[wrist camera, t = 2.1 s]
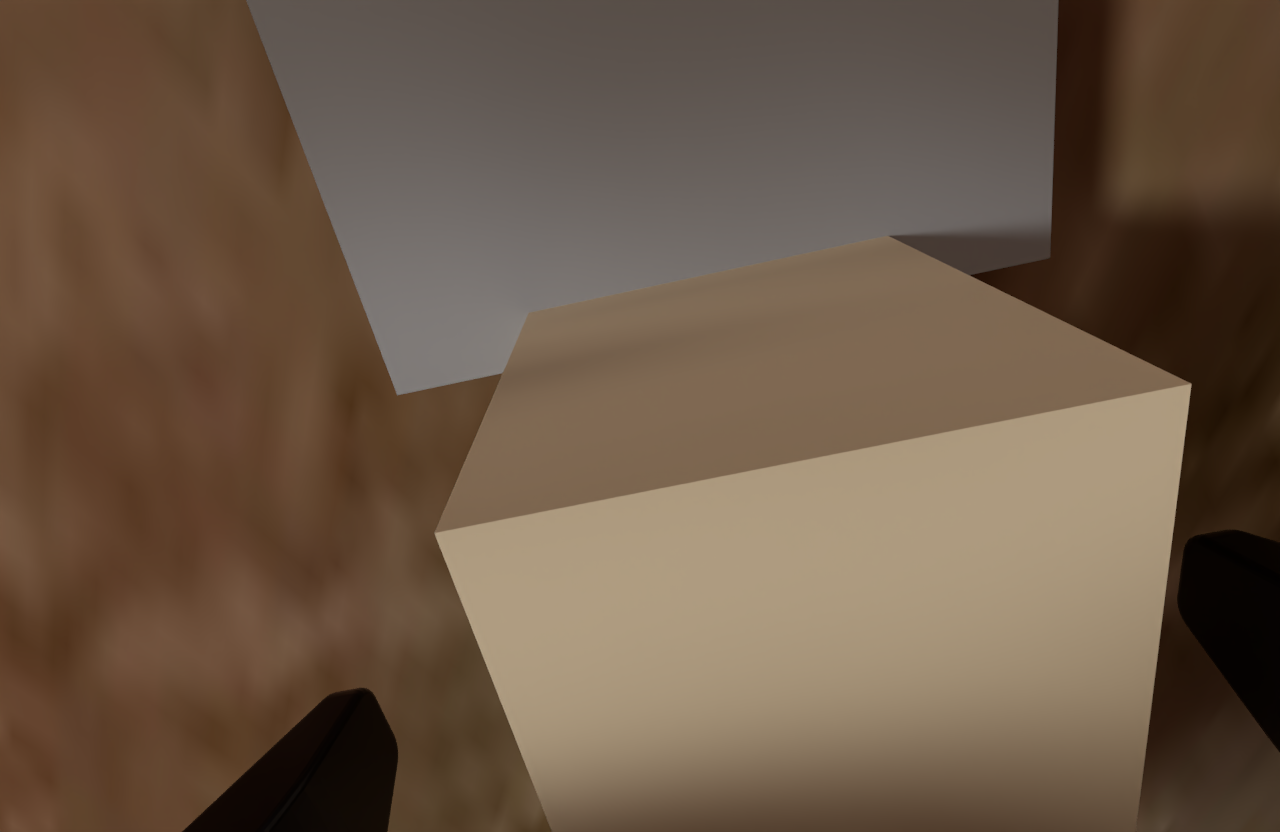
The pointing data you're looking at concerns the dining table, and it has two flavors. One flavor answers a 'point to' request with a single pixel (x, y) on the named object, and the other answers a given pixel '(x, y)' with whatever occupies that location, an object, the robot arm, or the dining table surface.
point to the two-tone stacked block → (758, 401)
